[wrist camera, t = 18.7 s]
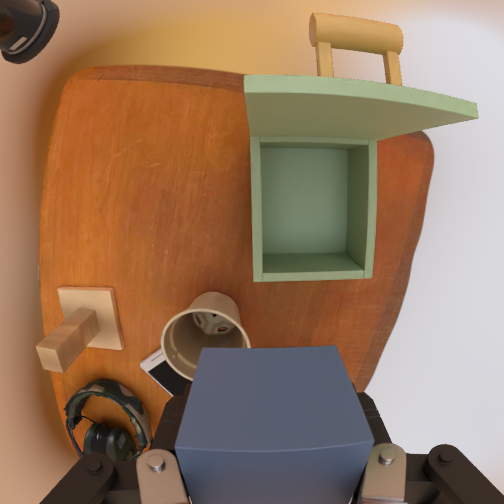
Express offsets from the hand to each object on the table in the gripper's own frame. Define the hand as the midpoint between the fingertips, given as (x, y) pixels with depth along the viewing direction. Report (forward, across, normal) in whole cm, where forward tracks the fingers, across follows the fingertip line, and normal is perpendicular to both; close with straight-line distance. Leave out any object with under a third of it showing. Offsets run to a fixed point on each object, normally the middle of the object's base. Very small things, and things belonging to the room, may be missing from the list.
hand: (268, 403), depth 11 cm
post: (+26, +24, +10) cm, 37 cm away
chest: (+26, -5, -5) cm, 27 cm away
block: (0, 0, 0) cm, 0 cm away
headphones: (+27, +25, +30) cm, 47 cm away
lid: (+11, -5, -12) cm, 17 cm away
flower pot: (+27, +6, +9) cm, 29 cm away
